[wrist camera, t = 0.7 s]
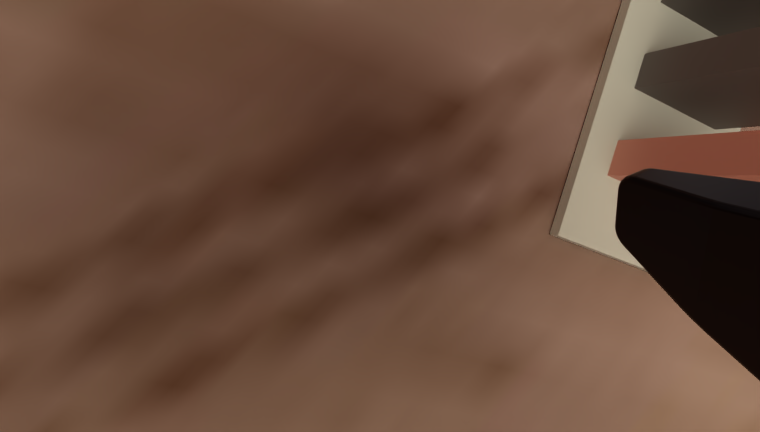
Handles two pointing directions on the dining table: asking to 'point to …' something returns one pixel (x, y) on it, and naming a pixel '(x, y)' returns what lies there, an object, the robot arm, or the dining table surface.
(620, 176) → the domino
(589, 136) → the strip
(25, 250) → the dining table surface
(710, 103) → the domino
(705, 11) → the domino
